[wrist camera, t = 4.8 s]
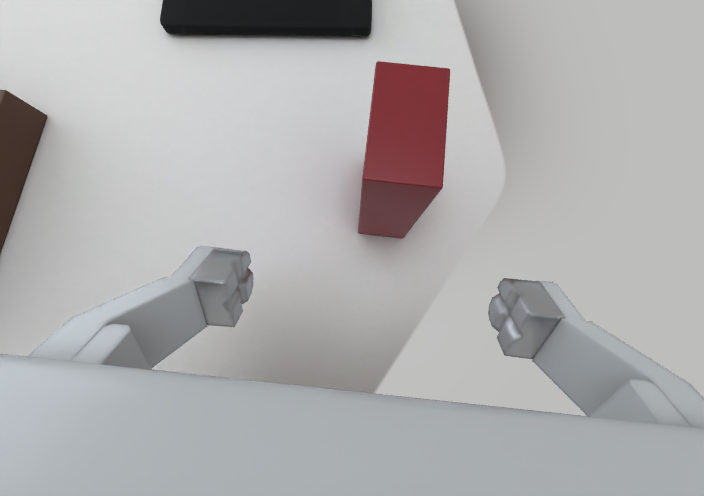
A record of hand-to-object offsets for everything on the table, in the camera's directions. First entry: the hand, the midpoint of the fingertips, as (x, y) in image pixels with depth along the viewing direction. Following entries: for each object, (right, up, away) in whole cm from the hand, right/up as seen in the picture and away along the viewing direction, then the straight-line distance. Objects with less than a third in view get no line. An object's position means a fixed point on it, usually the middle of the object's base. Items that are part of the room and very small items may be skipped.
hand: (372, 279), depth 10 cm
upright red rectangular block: (+2, +5, +13) cm, 14 cm away
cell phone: (-8, +24, +17) cm, 30 cm away
